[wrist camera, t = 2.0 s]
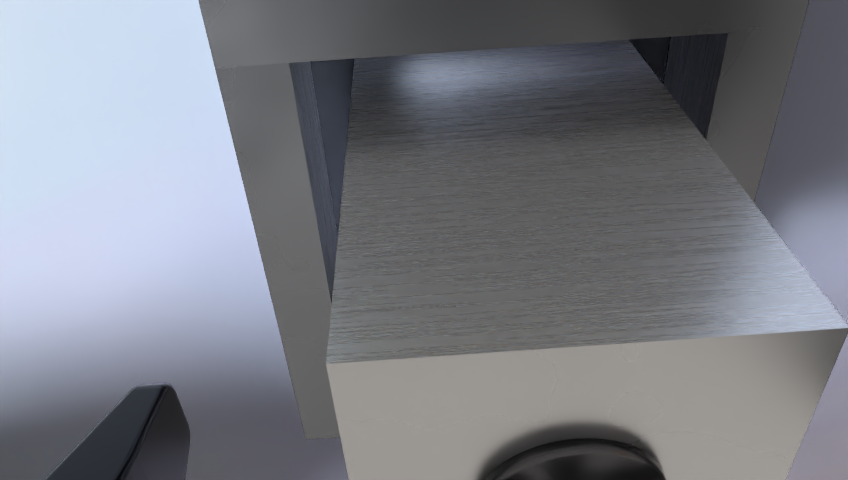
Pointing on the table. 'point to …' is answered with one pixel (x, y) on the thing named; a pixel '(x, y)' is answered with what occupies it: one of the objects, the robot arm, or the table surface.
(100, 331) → the table surface
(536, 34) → the rail
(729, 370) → the grey rectangular block
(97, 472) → the robot arm
